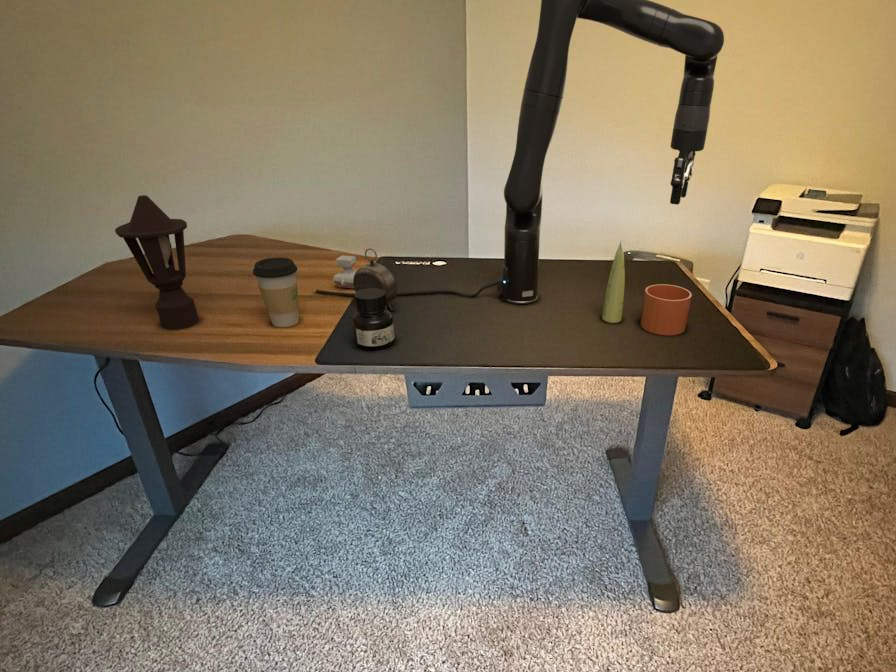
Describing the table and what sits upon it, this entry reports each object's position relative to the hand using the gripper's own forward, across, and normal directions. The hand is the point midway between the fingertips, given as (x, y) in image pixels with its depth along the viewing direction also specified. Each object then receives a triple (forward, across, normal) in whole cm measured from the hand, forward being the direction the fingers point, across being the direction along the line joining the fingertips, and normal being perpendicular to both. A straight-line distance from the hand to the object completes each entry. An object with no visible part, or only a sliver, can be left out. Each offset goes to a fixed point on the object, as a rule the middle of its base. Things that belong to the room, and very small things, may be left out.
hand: (677, 200), depth 136 cm
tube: (+29, +12, -10) cm, 33 cm away
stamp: (+30, +22, -84) cm, 91 cm away
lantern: (+30, +61, -104) cm, 125 cm away
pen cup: (+28, +10, +3) cm, 30 cm away
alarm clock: (+29, +33, -67) cm, 80 cm away
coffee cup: (+30, +50, -82) cm, 100 cm away
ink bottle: (+29, +49, -56) cm, 80 cm away
